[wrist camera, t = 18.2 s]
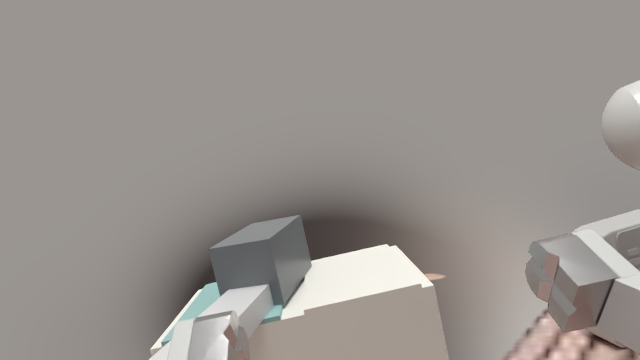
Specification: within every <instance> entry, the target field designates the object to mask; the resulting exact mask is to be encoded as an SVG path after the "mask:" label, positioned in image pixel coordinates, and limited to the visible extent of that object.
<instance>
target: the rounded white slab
mask: <svg viewBox="0 0 640 360" xmlns="http://www.w3.org/2000/svg"><path fill="white" fill-rule="evenodd" d="M587 229H590V230H593V231H595V232H596V233H597V234H598V235H599V236H600V237H602V238H603V239H604V240H605V241H606V242H607V243H608V244H609V245H611V246H612V247H613V248H614V249H615V250H616V251H617V252H618V253H620V254H621V255H622V256H623V257H624V258H625V259H626V260H627V261H629V262H630V263H631V264H632V265H633V266H634V267H635V268H636V269H637V270H639V271H640V209H638V210H635V211H631V212H628V213H625V214H621V215H618V216H615V217H611V218H607V219H604V220H601V221H597V222H594V223H590V224H587V225H584V226H580V227H579V228H578V229H576V230H574V231H573V232H578V231H582V230H587ZM596 327H597V326H594V327H589V328H585V329H586V330H587V331H589V332H590V333H592V334H594V335H596V336H598V337H600V338H602V339H605V340H607V341H609V342H611V343H613V344H615V345H617V346H619V347H621V348H624V347H627V346H625V345H623V344H622V343H620V342H618V341H617V340H615V339H614V338H612V337H610V336H609V335H607V334H605V333H604V332H602V331H601V330H599V329H597V328H596Z"/></svg>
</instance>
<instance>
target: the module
mask: <svg viewBox="0 0 640 360" xmlns="http://www.w3.org/2000/svg"><path fill="white" fill-rule="evenodd" d="M209 253H210V257H211V261H212V265H213V269H214V274H215V278H216V281H217V286H218V290H219V294H220V298H218V299H217V300H216V301H215V302H214V303H213V304H212V305H210V306H209V307H208V308H207V309H206V310H205V311H204V312H202V313H201V314H200V315H199V316H198V317H201V316H206V315H211V314H216V313H221V312H227V311H232V310H235V311H236V313H237V315H238V317H239V324H238V325H239V326H241V327H243V328H244V330H245V332H246V335H247V338H249V337H250V336H251V335H252V333H253V332H254V331H255V329H256V328H257V327H258V326H259V324H260V323H261V322H262V320H263V319H264V318H265V317H266V315H267V314H268V313H269V311H270V310H271V309H272V307H273V306H275V305H283V304H285V303H286V301H287V300H288V299H289V297H290V296H291V294H292V293H293V292H294V290H295V289H296V288H297V286H298V285H299V283H300V282H301V281H302V279H303V278H304V276H305V275H306V274H307V272H308V271H309V269H310V268H311V267H312V264H311V260H310V256H309V251H308V247H307V242H306V238H305V233H304V229H303V225H302V221H301V216H300V215H297V216H292V217H286V218H281V219H276V220H270V221H264V222H259V223H253V224H251V225H249V226H247V227H245V228H244V229H242V230H240V231H239V232H237V233H235V234H233V235H232V236H230V237H229V238H227V239H225V240H223V241H221V242H220V243H218V244H216V245H215V246H213V247H211V248H210V249H209ZM170 343H171V341H169V342H168V343H167V344H166V345H165V346H164V347H163V348H161V349H160V350H159V351H158V352H157V353H156V354H155V355H153V356H152V357H151V358H150V359H149V360H167V357H168V353H169V348H170Z"/></svg>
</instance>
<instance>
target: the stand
mask: <svg viewBox="0 0 640 360" xmlns="http://www.w3.org/2000/svg"><path fill="white" fill-rule="evenodd" d="M311 264H312V267H311V268H310V269H309V271H308V272H307V274H306V275H305V276H304V278H303V279H302V281H301V282H300V283H299V285H298V286H297V288H296V289H295V290H294V292H293V293H292V294H291V296H290V297H289V299H288V300H287V301H286V303H285V304H283V305H275V306H273V307H272V309H271V310H270V311H269V313H268V314H267V315H266V317H265V318H264V319H263V320H262V322H261V323H260V324H259V326H258V327H257V328H256V329H255V331H254V332H253V333H252V335H251V336H250V337H249V338H248V343H249V351H250V360H449V357H448V352H447V347H446V343H445V338H444V333H443V328H442V323H441V318H440V313H439V308H438V303H437V299H436V294H435V289H434V285H433V284H432V283H431V282H430V281H429V280H428V279H427V278H426V277H425V275H424V274H423V273H421V271H420V270H419V269H418V268H417V267H416V266H415V265H414V264H413V263H412V262H411V261H410V260H409V259H408V258H407V257H406V256H405V255H404V253H403V252H402V251H401V250H400V249H399V248H398V247H397V246H391V247H389V246H388V245H387V244H385V245H380V246H376V247H372V248H368V249H363V250H358V251H354V252H349V253H345V254H341V255H336V256H331V257H327V258H323V259H318V260H314V261H311ZM218 298H220V294H219V290H218V286H217V282H216V283H211V284H207V285H206V286H205V287H204V288H203V289H200V290H198V292H196V294H195V295H194V296H193V298H192V299H191V300H190V301H189V303H188V304H187V305H186V306H185V307H184V309H183V310H182V311H181V312H180V313H179V315H178V316H177V317H176V318H175V320H174V321H173V322H172V323H171V325H170V326H169V327H168V328H167V329H166V331H165V332H164V333H163V335H162V336H161V337H160V338H159V340H158V341H157V342H156V343H155V344H154V345H153V347H152V348H151V349H150V351H151V355H152V356H153V355H155V354H156V353H157V352H158V351H159V350H160V349H161V348H163V347H164V346H165V345H166V344H167V343H168V342H169V341H171V339H172V334H173V329H174V327H175V325H176V323H177V322H178V321H183V320H187V319H192V318H196V317H198V316H199V315H200V314H201V313H202V312H204V311H205V310H206V309H207V308H208V307H209V306H210V305H212V304H213V303H214V302H215V301H216V300H217V299H218Z"/></svg>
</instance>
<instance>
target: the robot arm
mask: <svg viewBox="0 0 640 360" xmlns="http://www.w3.org/2000/svg"><path fill="white" fill-rule="evenodd" d="M602 134H603V137H604V140H605V143H606V144H607V146H608V148H609V149H610V151H611V152H612V153H613V154H614V155H615V156H616V157H617V158H618V159H620V161H622V162H623V163H625V164H626V165H628V166H630V167H632V168H635V169H637V170H640V80H639V81H637V82H634V83H632V84H629V85H627V86H625V87H622V88H620V89H618V90H617V91H616V92H615V93H614V94H613V96H612V97H611V99H610V100H609V102H608V103H607V105H606V108H605V110H604V113H603V117H602ZM529 253H530V254H531V256H532V258H531V259H530V260H529V261H528V262H527V263H526V271H525V273H526V277H527V282H528V284H529V286H530V288H531V290H532V291H533V292H534V294H535V295H536V296H537V298H539V299H541V300H543V301H545V302H547V303H548V310H547V311H548V313H549V314H550V315H551V316H552V318H553V319H554V320H555V322H556V323H557V324H558V326H559V327H560V328H561V330H562V331H563V332H569V331H574V330H579V329H584V328H589V327H594V326H597V327H596V328H597V329H599V330H601V331H602V332H604V333H605V334H607V335H609V336H610V337H612V338H614V339H615V340H617V341H618V342H620V343H622V344H623V345H625V346H627V347H628V348H630V349H631V350H633V351H635V352H636V353H638V354H639V355H640V271H639V270H637V269H636V268H635V267H634V266H633V265H632V264H631V263H630V262H629V261H627V260H626V259H625V258H624V257H623V256H622V255H621V254H620V253H618V252H617V251H616V250H615V249H614V248H613V247H612V246H611V245H609V244H608V243H607V242H606V241H605V240H604V239H603V238H602V237H600V236H599V235H598V234H597V233H596V232H595V231H593V230H590V229H587V230H582V231H578V232H573V233H570V234H563V235H559V236H555V237H551V238H547V239H543V240H538V241H534V242H532V244H531V245H530V247H529ZM238 324H239V317H238V315H237V313H236V311H235V310H232V311H227V312H221V313H216V314H211V315H206V316H201V317H196V318H192V319H187V320H183V321H178V322H177V323H176V325H175V327H174V329H173V334H172V339H171V343H170V348H169V353H168V357H167V360H250V351H249V343H248V338H247V335H246V332H245V330H244V328H243V327H241V326H239V325H238Z"/></svg>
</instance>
